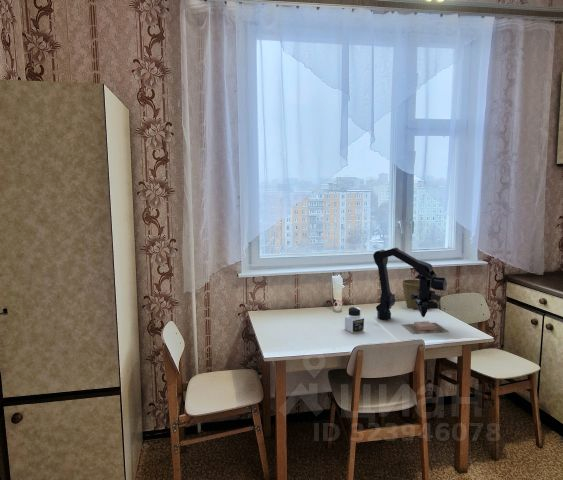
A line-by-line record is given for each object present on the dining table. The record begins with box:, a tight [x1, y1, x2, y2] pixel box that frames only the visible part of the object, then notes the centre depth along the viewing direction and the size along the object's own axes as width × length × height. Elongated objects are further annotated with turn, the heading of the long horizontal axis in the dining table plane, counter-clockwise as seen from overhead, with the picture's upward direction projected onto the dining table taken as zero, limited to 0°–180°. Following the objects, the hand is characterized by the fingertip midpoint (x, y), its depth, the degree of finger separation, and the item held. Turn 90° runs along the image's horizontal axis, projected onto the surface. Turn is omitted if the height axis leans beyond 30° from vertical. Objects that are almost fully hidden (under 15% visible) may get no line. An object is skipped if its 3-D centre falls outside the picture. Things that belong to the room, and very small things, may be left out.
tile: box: [413, 320, 435, 330], centre depth 211 cm, size 8×2×7 cm
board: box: [401, 322, 450, 335], centre depth 211 cm, size 20×14×1 cm
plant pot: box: [402, 278, 419, 310], centre depth 249 cm, size 15×15×16 cm
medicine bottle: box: [344, 306, 365, 334], centre depth 211 cm, size 7×7×12 cm
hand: (423, 316), depth 212 cm, fingers closed
